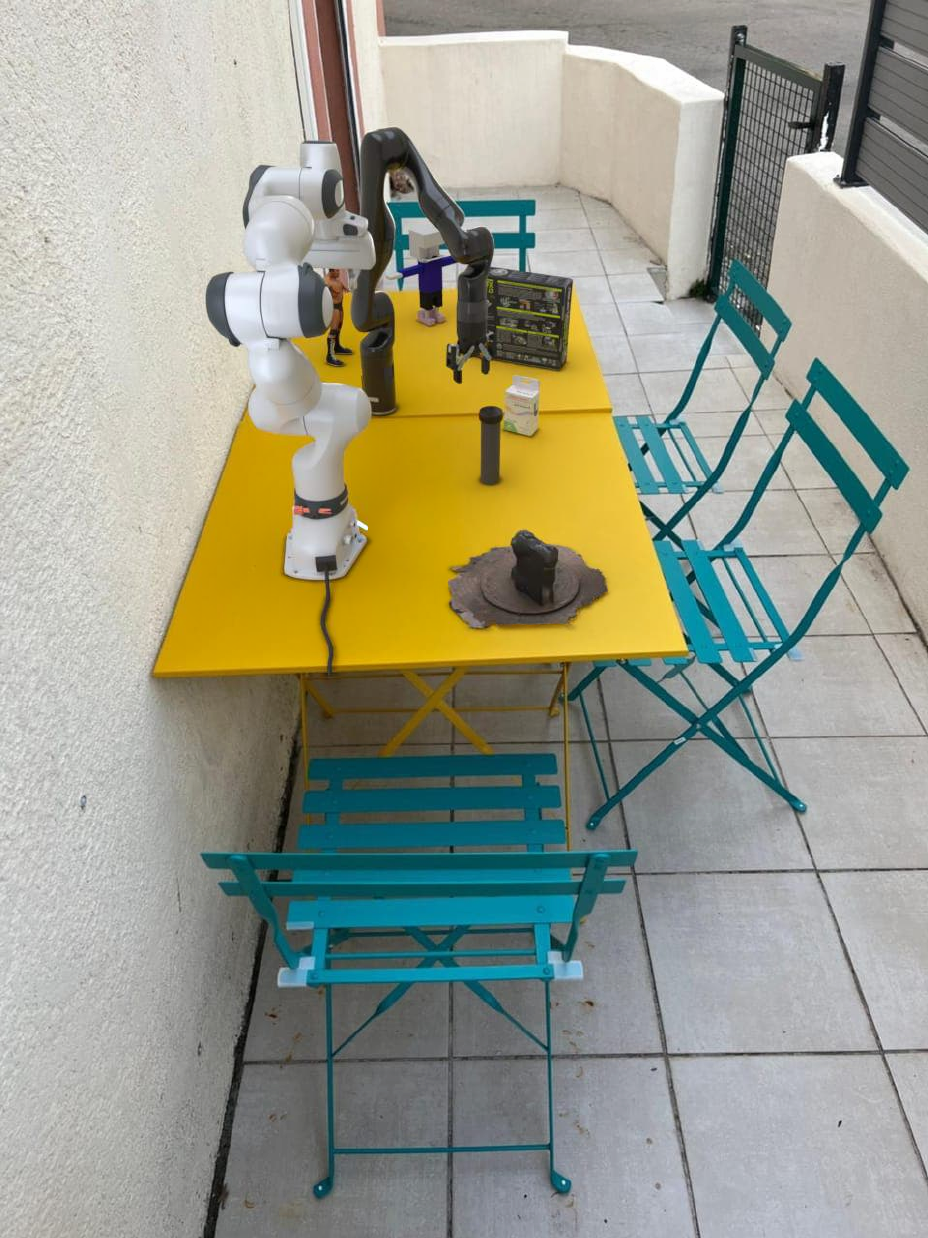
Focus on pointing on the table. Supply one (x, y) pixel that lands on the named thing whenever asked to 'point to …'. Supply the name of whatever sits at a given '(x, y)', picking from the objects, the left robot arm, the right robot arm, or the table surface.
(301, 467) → the left robot arm
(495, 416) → the lid
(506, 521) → the table surface
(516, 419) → the ink box
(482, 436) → the dark grey cylinder
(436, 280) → the toy
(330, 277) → the figurine
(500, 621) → the sculpture
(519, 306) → the box
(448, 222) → the right robot arm
